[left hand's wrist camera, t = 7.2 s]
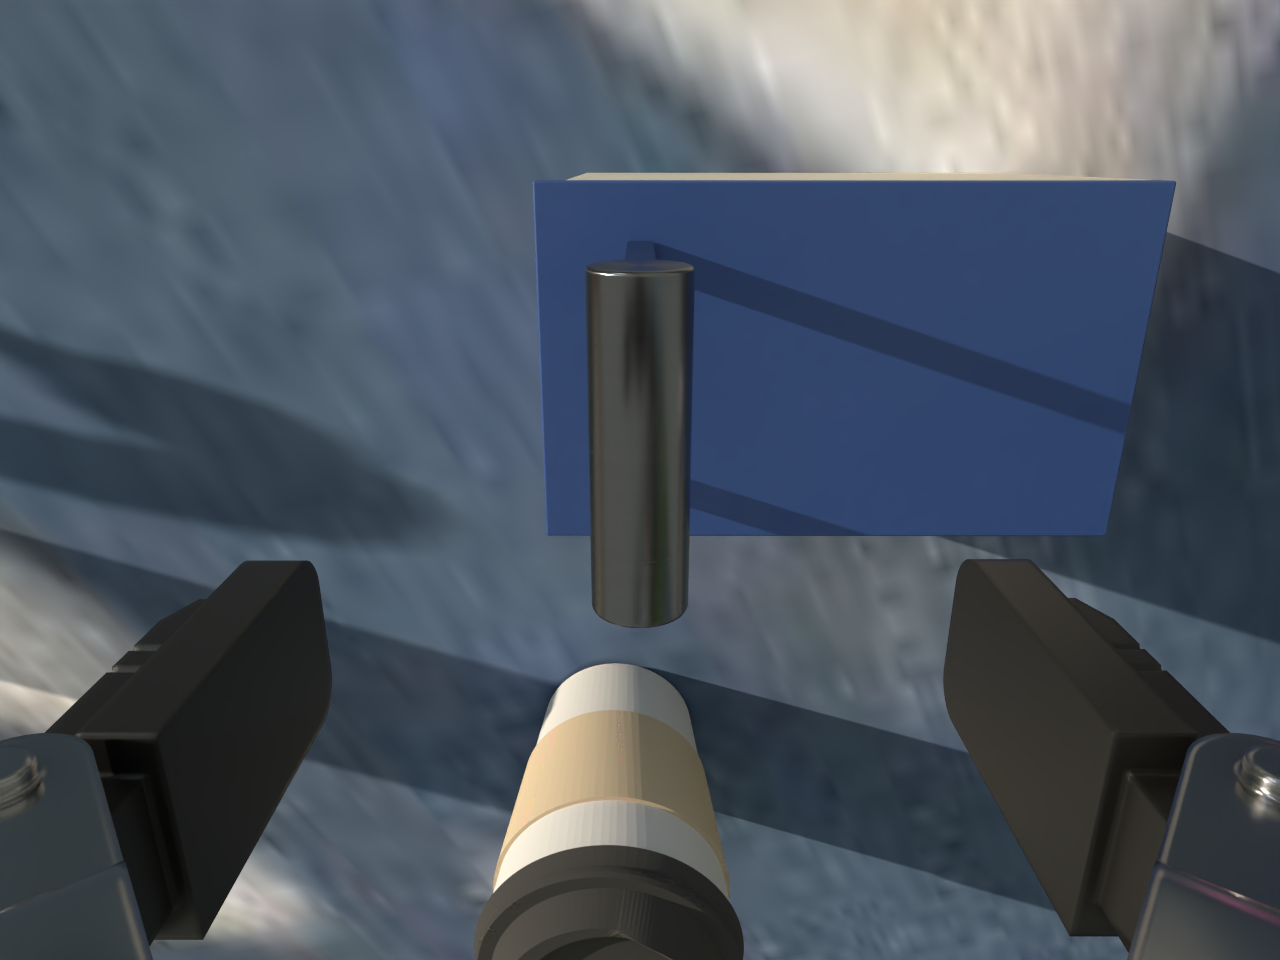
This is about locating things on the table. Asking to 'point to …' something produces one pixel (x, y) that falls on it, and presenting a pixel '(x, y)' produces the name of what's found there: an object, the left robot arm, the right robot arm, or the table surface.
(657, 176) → the chest
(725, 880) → the coffee cup
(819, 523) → the lid
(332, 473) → the table surface
